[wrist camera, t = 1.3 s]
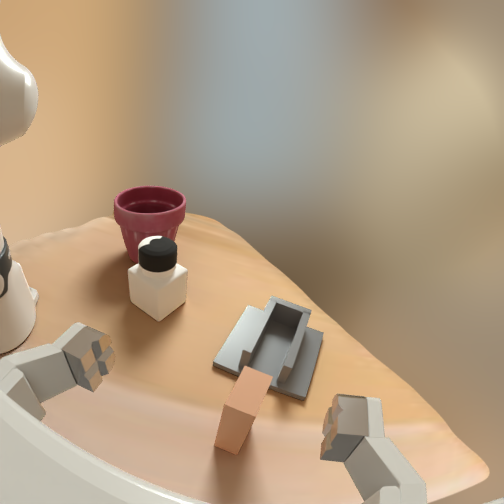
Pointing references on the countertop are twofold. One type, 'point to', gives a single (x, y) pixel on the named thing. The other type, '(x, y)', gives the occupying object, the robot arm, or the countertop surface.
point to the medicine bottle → (157, 278)
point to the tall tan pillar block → (241, 409)
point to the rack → (274, 346)
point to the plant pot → (148, 214)
